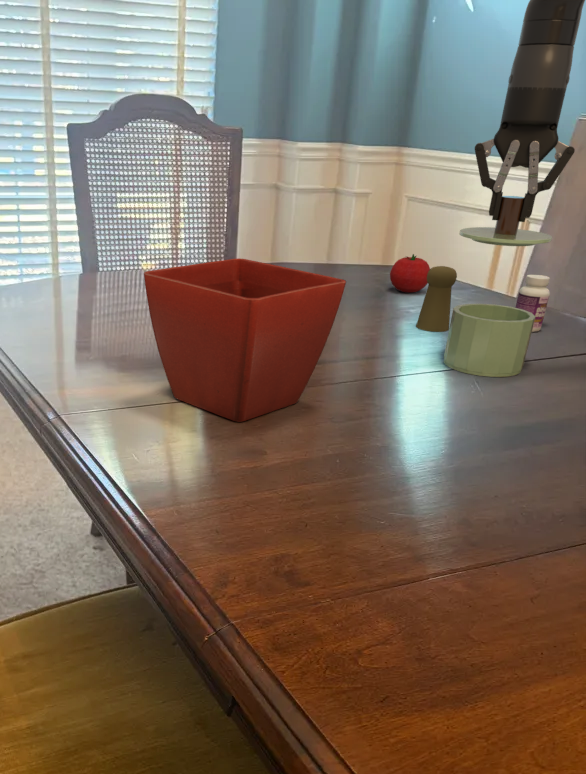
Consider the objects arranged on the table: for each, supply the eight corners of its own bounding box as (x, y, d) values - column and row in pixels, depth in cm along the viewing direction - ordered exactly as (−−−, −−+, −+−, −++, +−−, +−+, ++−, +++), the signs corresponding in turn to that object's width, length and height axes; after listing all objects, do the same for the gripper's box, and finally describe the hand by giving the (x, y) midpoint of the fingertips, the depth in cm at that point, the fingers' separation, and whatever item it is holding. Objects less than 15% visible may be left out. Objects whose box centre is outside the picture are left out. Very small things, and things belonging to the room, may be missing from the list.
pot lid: (491, 232, 123) (500, 190, 120) (567, 244, 114) (579, 199, 111) (440, 238, 116) (448, 194, 113) (517, 251, 107) (528, 203, 104)
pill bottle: (537, 334, 143) (551, 280, 138) (507, 329, 145) (520, 276, 141) (542, 328, 147) (556, 275, 142) (513, 324, 149) (526, 272, 145)
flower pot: (334, 404, 107) (350, 278, 98) (242, 438, 95) (252, 298, 87) (232, 371, 118) (239, 256, 110) (139, 398, 107) (139, 272, 98)
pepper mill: (453, 332, 143) (465, 270, 137) (420, 331, 143) (431, 269, 137) (443, 324, 148) (454, 264, 142) (412, 323, 148) (422, 263, 142)
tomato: (384, 286, 177) (389, 250, 173) (422, 288, 177) (428, 251, 173) (391, 295, 170) (397, 257, 166) (431, 296, 169) (438, 258, 166)
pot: (472, 351, 132) (483, 300, 128) (536, 369, 124) (550, 315, 119) (428, 361, 126) (438, 309, 121) (492, 381, 117) (505, 325, 113)
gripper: (590, 87, 106) (557, 220, 115) (483, 85, 110) (459, 214, 119) (596, 85, 100) (561, 227, 109) (482, 83, 104) (457, 220, 113)
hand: (508, 219), depth 114 cm, fingers closed on pot lid, 3 cm apart
